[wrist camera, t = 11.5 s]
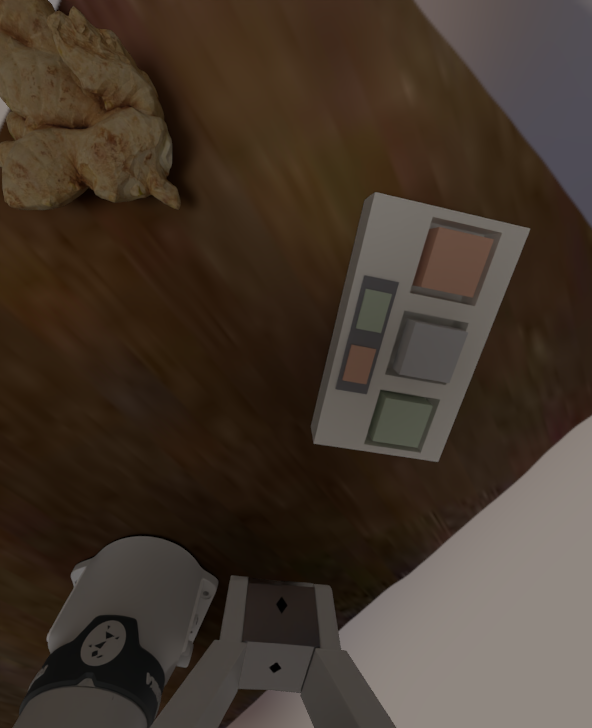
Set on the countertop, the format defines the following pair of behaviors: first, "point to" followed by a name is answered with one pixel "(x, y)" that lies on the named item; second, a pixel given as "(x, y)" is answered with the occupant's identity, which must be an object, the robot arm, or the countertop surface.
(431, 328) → the grey key
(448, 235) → the terracotta key
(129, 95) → the ginger root
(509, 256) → the keypad
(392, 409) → the sage key
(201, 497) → the countertop surface
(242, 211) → the countertop surface
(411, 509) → the countertop surface
